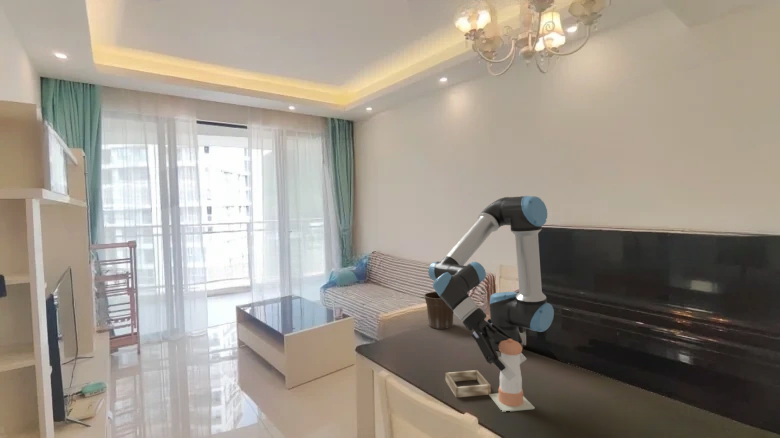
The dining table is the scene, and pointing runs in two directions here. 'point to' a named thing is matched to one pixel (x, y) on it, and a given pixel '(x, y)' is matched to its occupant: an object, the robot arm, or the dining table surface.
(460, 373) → the birch surround
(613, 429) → the dining table surface
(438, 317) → the plant pot
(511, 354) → the pepper shaker
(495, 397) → the sage pad
